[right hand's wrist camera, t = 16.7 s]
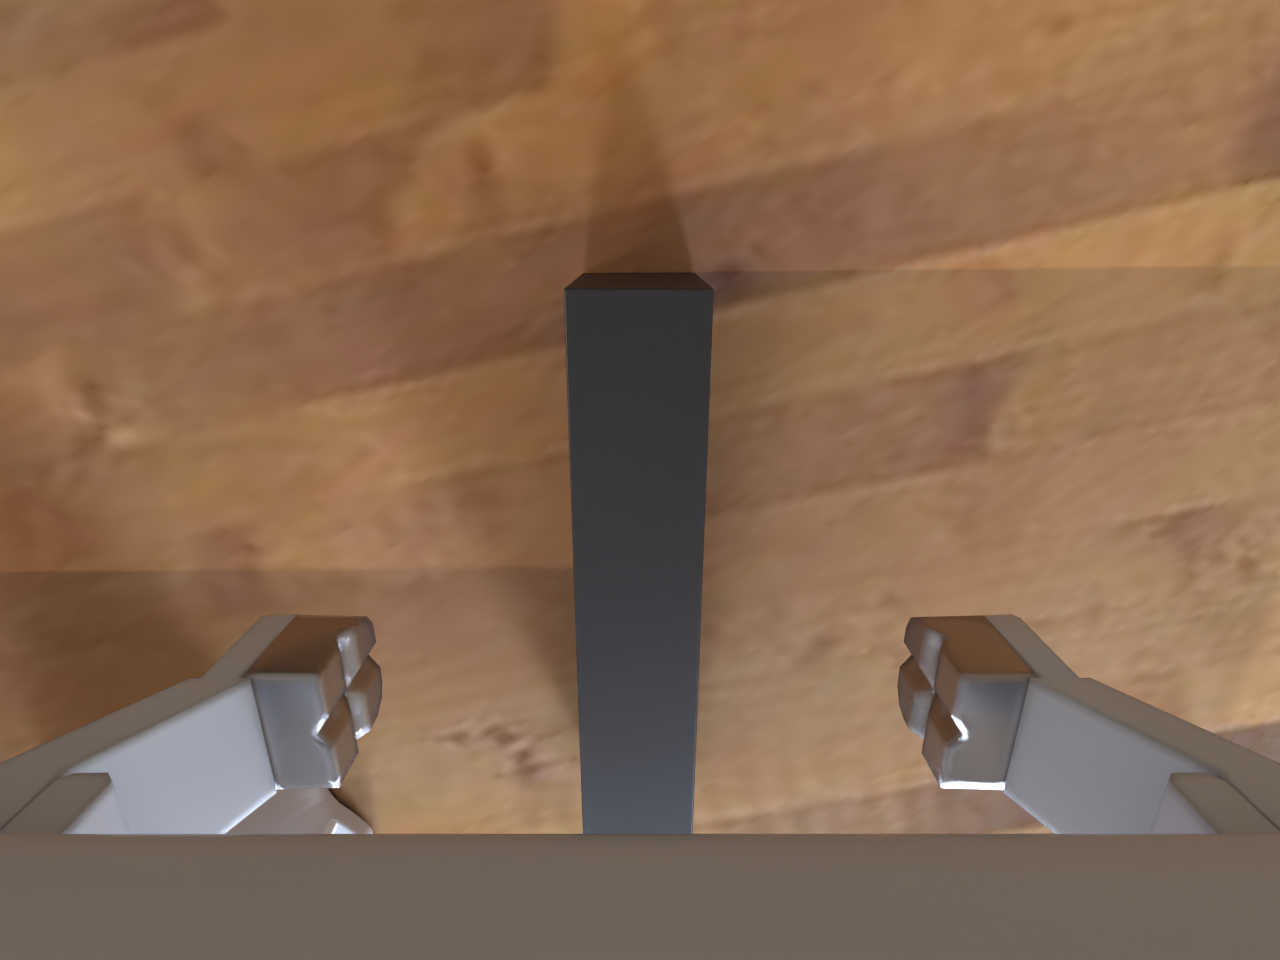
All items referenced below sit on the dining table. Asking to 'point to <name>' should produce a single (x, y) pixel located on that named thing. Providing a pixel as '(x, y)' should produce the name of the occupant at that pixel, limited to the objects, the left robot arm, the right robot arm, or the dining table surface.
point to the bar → (638, 539)
